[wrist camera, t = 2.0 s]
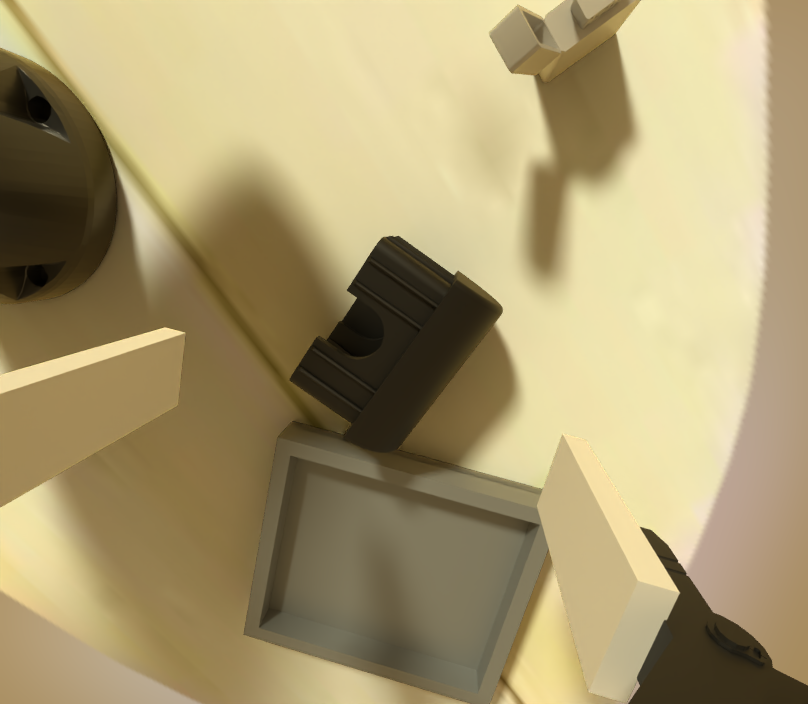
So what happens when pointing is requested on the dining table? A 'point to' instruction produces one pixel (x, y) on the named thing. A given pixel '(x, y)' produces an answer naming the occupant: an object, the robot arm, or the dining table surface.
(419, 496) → the seat tray
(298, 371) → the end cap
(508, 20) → the lighter
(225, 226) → the dining table surface
